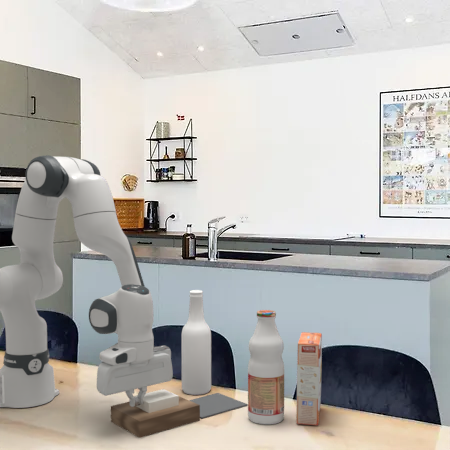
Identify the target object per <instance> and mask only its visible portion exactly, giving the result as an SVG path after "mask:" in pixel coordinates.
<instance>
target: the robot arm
mask: <svg viewBox="0 0 450 450" xmlns="http://www.w3.org/2000/svg"><path fill="white" fill-rule="evenodd" d="M101 174H102V173H101V172H100V170H99V167H98V166H97V165H96V164H95V163H93V162H91V161H90V160H87V159H79V158H78V157H77V158H76V157H71V156H68V155H67V156H66V155H65V156H60V155H59V156H54V155H48V154H47V155H41V156H37V157H34V158H32V159H31V160H30V161H29V163H28V164H27V167H26V170H25V180H24V182H23V183H22V186H21V189H20V193H19V195H18V199H17V203H16V209H15V213H14V219H13V220H14V221H13V228H12V234H11V240H12V243H13V245H15V247H17V248H18V249H19V256H20V261H19V263H16V264H11V265H5V266H3V267H0V313H1V316H2V319H3V322H4V323H3V324H4V328H5V330H4V331H5V349H6V350H5V351H4V354H3V355H4V356H3V362H2V364H3V366H1V368H0V408H15V409H17V408H19V409H21V408H22V409H23V408H31V407H37V406H41V405H45V404H47V403H49V402H51V401H52V400H53V399H54V398H55V397H56V396H58V395H59V394H60V390H59V389H58V388H56V383H55V372H54V371H55V370H54V367H53V366H52V365H51V364H49V362H50V351H49V348H48V325H47V322H46V320H45V318H43V317H42V316H40V314H39V313H38V311H37V307H36V301H39V300H43V299H47V298H49V297H50V296H52V295H54V294H56V293H57V292H58V291H60V289H61V288H62V286H63V282H64V276H63V271H62V269H61V268H60V266H58V265H57V263H56V260H55V254H54V239H55V230H56V224H57V217H58V209H59V205H60V203H61V202H62V200H63V199H67V200H68V201H69V202H70V205H71V210H72V217H73V225H74V229H75V233H76V237H77V238H78V240H79V242H80V243H81V244H82V245H84V246H85V247H86V248H88V249H90V250H92V251H95V252H97V253H99V254H102V255H104V256H106V257H108V258H109V259H110V260H111V261H112V262H113V264H114V266H115V267H116V270H117V274H118V278H119V282H120V284H121V287H119V288H118V290H116V291H115V292H113V293H111V294H108V295H105V296H102V297H99V298H96V299H94V300H93V301H92V303H91V305H90V306H89V310H88V320H89V324H90V327H91V329H93V331H95V332H96V333H97V334H100V335H111V334H117V342H116V343H115V344H113V345H111V346H110V347H108V348H106V349H103V350H102V351H100V352H99V357H98V358H99V360H100V361H101V362H100V363H99V365H98V367H97V373H96V390H97V392H99V394H101V395H102V396H111V395H114V394H120V393H125V395H126V396H127V398H128V399H129V400H128V402H130V406H131V407H134V406H138V405H142V404H143V398H144V396H145V394H146V393H148V387H151V386H155V385H158V384H163V383H168V382H170V381H172V379H173V377H174V375H173V374H174V372H173V364H172V359H171V358H172V351H171V348H170V347H169V346H167V345H159V346H155V345H154V344H155V343H154V341H155V340H154V339H155V338H154V332H153V324H154V304H153V303H154V302H153V296H152V293H151V290H150V289H149V288H148V287H146V286H145V283H144V279H143V276H142V274H141V273H142V272H141V270H140V267H139V264H138V259H137V257H136V254H135V250H134V246H133V244H132V242H131V240H130V239H129V237H128V236H127V235H126V234H125V232H124V231H123V229H122V227H121V225H120V223H119V219H118V215H117V210H116V205H115V202H114V198H113V195H112V190H111V188H110V185H109V183H108V181H107V179H106V178H105V177H104V176H102V175H101ZM136 389H137V390H139V391H138V393H137V395H138V396H137V397H134V396H135V395H133V394H135V390H136Z"/></svg>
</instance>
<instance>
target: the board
mask: <svg viewBox="0 0 450 450" xmlns="http://www.w3.org/2000/svg"><path fill="white" fill-rule="evenodd" d="M178 396H179V405H178V406H174V407H170V408H166V409H162V410H159V411H155V412H151V413H148V412H146V411H144V410H142V409H140V408H138V407H136V406H134V407H131V406H130V401H126V402H122V403H118V404H113V405H110V422H111V423H113V424H115V425H116V426H118V427H120V428H122V429H123V430H125V431H127V432H128V433H130V434H131V435H134V436H135V437H137V438H139V439H141V438H144V437H149V436H152V435H155V434H159V433H161V432H165V431H168V430H172V429H175V428H178V427H182V426H185V425H188V424H193V423H196V422H200V420H201V418H200V405H199V404H196V403H194V402H191V401H189V400H190V399H187V398H184V397H182V396H180V395H178Z"/></svg>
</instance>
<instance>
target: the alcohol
mask: <svg viewBox="0 0 450 450" xmlns="http://www.w3.org/2000/svg"><path fill="white" fill-rule="evenodd" d="M203 293H204V291H203V290H201V289H193V290H190V291H189V307H188V319H187V322H186V323H185V324H184V326H183V327H182V330H181V390H182V392H183V393H184V394H187V395H190V396H200V395H206V394H208V393H210V391H211V389H212V331H211V328H210V326H209V324H208V323H207V322H206V320H205V315H204V313H205V312H204V302H203V301H204V300H203V297H204V295H203Z"/></svg>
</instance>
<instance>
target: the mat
mask: <svg viewBox="0 0 450 450" xmlns="http://www.w3.org/2000/svg"><path fill="white" fill-rule="evenodd" d="M188 400H189V401H191V402H194V403H196V404H199V405H200V420H202V419H206V418H210V417H213V416H216V415H221V414H224V413H228V412H230V411H233V410H236V409H241V408H244V407H248V403H246V402H242V401H240V400H238V399H236V398H233V397H230V396H227V395H225V394H223V393H220V392H216V393H212V394H208V395H204V396H200V397H198V398H192V399H188Z"/></svg>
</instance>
